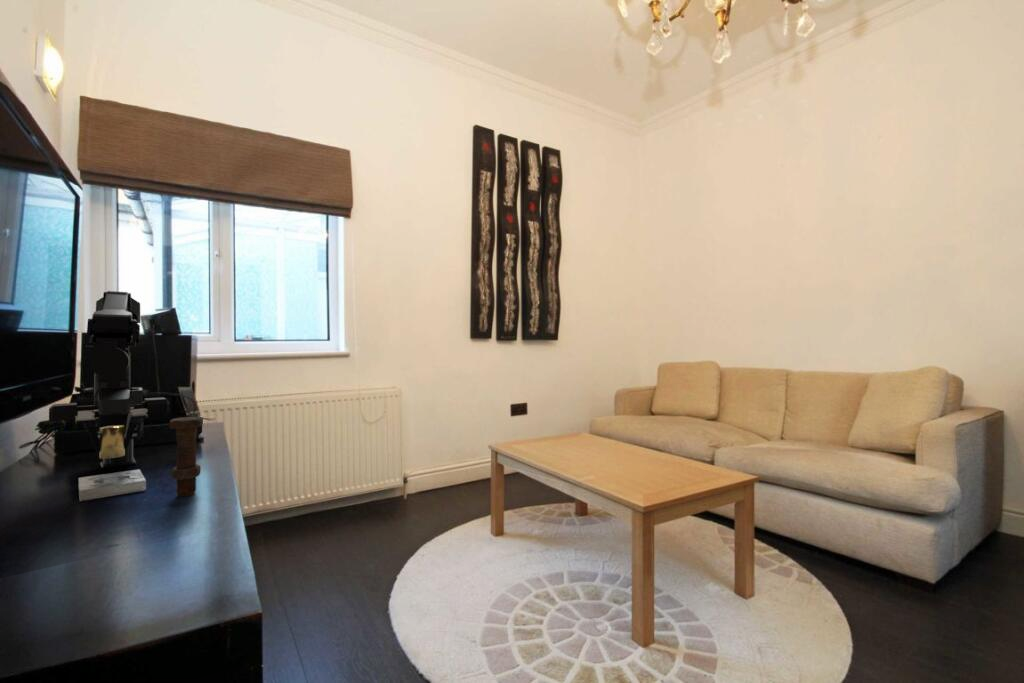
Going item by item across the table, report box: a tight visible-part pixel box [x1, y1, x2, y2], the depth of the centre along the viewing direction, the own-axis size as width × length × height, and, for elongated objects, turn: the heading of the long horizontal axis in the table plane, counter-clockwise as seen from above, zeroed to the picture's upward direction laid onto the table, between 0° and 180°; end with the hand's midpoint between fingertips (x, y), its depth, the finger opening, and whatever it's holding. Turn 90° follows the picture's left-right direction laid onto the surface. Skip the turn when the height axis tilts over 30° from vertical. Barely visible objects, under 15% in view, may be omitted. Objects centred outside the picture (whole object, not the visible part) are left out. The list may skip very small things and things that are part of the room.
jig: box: [78, 468, 147, 502], centre depth 98 cm, size 12×10×2 cm
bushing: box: [98, 425, 125, 460], centre depth 98 cm, size 4×4×6 cm
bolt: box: [168, 416, 204, 497], centre depth 94 cm, size 6×5×15 cm
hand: (112, 450), depth 98 cm, fingers closed on bushing, 4 cm apart
